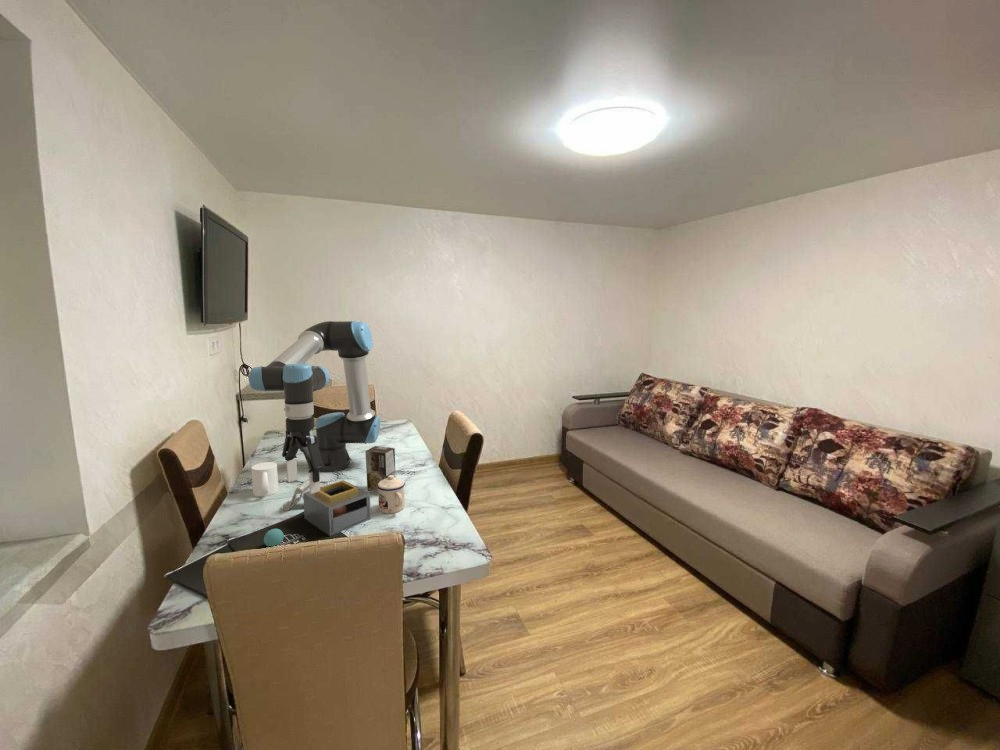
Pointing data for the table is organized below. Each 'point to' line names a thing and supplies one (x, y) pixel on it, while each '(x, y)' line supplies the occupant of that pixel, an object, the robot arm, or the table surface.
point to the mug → (264, 479)
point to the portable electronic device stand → (295, 498)
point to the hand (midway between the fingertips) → (303, 486)
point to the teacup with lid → (391, 495)
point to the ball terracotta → (339, 511)
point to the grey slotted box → (333, 497)
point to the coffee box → (379, 466)
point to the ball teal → (273, 537)
